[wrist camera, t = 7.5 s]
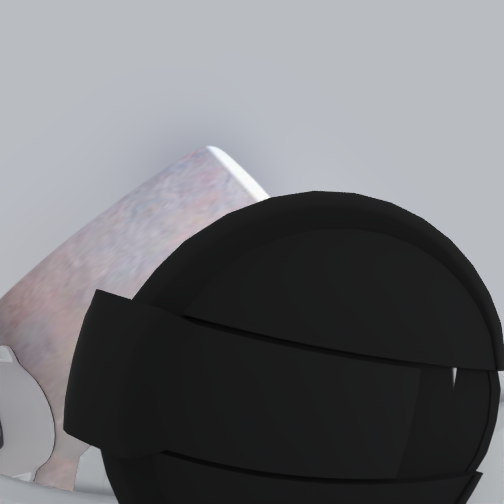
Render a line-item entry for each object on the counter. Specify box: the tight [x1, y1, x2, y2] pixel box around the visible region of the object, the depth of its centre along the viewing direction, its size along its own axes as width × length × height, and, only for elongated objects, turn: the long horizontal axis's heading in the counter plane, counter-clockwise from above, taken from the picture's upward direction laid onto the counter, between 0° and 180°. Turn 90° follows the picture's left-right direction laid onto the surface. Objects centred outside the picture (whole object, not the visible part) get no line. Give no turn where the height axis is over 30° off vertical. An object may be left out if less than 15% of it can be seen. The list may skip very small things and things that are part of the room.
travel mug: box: [63, 191, 504, 504], centre depth 12 cm, size 6×7×20 cm
